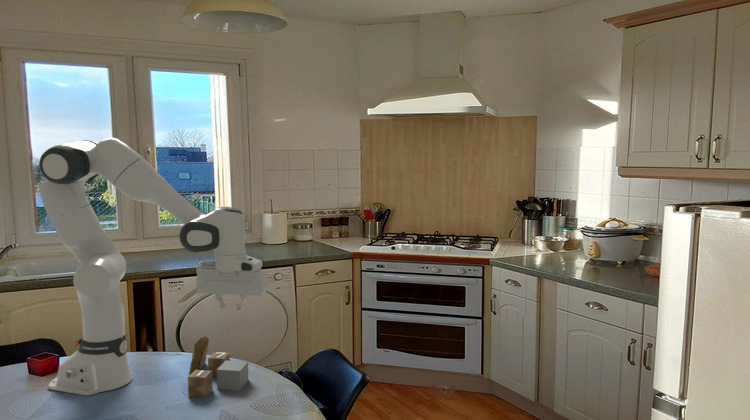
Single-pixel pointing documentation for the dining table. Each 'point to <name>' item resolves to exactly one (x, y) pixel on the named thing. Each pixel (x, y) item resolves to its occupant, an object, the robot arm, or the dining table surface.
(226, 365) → the grey block
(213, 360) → the walnut block seven
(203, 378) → the walnut block one
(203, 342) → the rock
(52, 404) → the dining table surface
